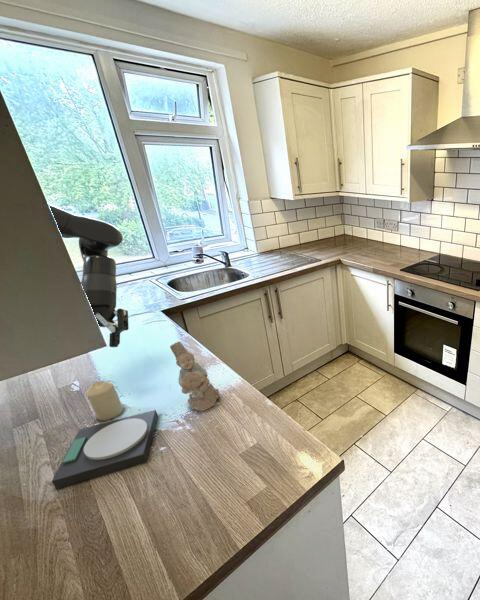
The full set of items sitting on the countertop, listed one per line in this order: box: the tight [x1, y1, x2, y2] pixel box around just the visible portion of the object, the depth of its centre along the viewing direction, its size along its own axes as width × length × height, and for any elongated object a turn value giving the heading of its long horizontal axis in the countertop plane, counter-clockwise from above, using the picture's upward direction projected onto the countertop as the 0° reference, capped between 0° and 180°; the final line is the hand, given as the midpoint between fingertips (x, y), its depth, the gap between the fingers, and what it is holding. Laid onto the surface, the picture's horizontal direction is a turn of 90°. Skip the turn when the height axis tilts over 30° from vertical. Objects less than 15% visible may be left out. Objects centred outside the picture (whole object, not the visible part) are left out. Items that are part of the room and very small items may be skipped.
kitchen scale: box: [51, 409, 159, 490], centre depth 79 cm, size 16×16×3 cm
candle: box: [85, 380, 124, 421], centre depth 88 cm, size 6×6×10 cm
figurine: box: [169, 341, 220, 412], centre depth 91 cm, size 9×8×20 cm
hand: (96, 349), depth 89 cm, fingers open, 8 cm apart
